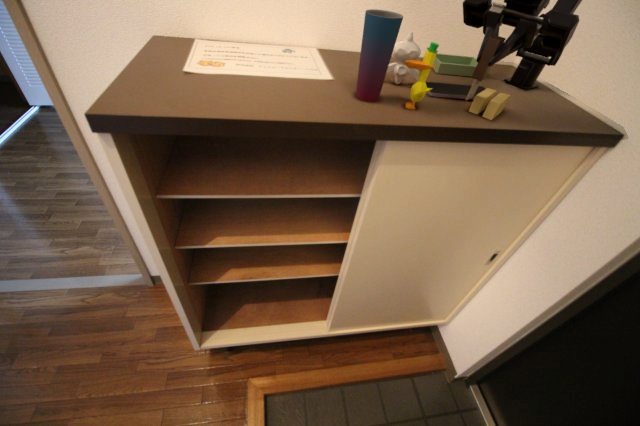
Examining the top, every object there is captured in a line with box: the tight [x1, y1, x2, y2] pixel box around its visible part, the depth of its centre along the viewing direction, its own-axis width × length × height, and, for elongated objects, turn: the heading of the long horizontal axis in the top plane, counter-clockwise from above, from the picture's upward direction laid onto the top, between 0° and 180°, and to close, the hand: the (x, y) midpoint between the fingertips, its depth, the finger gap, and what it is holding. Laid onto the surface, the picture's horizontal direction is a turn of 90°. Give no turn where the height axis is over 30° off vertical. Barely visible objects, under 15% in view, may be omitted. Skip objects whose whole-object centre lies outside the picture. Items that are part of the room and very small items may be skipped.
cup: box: [355, 8, 404, 103], centre depth 56 cm, size 7×7×15 cm
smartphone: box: [425, 81, 487, 101], centre depth 67 cm, size 7×1×15 cm
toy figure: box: [404, 41, 440, 110], centre depth 55 cm, size 7×4×12 cm, turn 83°
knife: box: [464, 35, 507, 101], centre depth 54 cm, size 3×2×11 cm, turn 133°
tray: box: [432, 53, 478, 77], centre depth 80 cm, size 13×9×3 cm
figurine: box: [386, 31, 422, 85], centre depth 65 cm, size 12×5×11 cm, turn 83°
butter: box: [468, 87, 512, 121], centre depth 60 cm, size 7×5×4 cm
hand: (483, 62), depth 52 cm, fingers closed on knife, 2 cm apart
